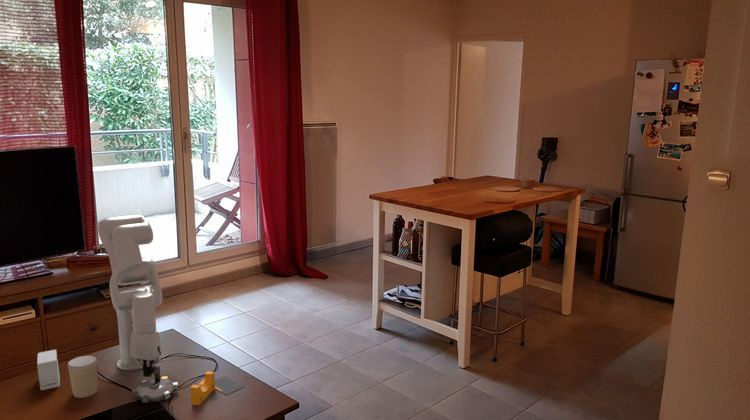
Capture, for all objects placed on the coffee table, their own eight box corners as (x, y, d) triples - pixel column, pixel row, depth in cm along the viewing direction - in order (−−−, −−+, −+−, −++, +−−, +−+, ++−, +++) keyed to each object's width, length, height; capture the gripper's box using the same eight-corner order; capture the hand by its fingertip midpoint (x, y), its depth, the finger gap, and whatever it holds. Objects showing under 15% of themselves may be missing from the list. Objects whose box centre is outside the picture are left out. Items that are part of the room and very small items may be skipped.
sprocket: (125, 392, 205) (124, 374, 204) (162, 377, 216) (161, 360, 215) (148, 406, 196) (147, 387, 194) (185, 390, 207) (184, 372, 205)
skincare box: (39, 378, 217) (37, 352, 215) (59, 374, 220) (57, 348, 218) (39, 390, 208) (36, 363, 206) (59, 386, 211) (57, 359, 209)
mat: (206, 384, 214) (206, 384, 214) (224, 376, 220) (224, 376, 220) (226, 395, 207) (226, 394, 206) (244, 386, 213) (244, 386, 213)
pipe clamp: (204, 387, 212) (202, 370, 211) (215, 388, 211) (214, 371, 210) (187, 404, 200) (185, 386, 199) (199, 405, 199) (197, 388, 198)
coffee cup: (105, 388, 210) (102, 357, 208) (85, 400, 202) (82, 368, 199) (85, 384, 213) (82, 353, 211) (64, 396, 205) (61, 364, 202)
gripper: (119, 329, 206) (123, 377, 209) (156, 333, 202) (160, 382, 205) (133, 321, 213) (136, 368, 216) (169, 325, 209) (172, 373, 212)
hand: (148, 375), depth 211 cm, fingers closed
